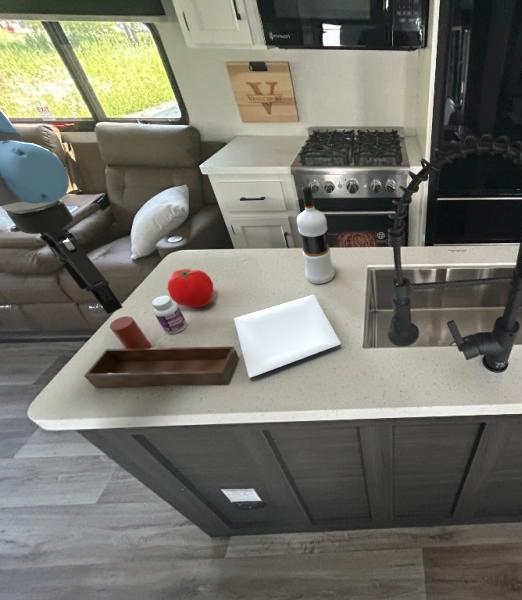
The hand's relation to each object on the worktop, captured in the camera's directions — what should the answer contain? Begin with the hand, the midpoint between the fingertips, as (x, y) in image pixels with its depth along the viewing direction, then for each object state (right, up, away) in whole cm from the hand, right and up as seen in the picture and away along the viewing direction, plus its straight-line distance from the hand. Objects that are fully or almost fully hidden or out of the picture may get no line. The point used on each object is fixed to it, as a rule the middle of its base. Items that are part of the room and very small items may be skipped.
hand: (101, 297), depth 71 cm
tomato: (+5, -1, +26) cm, 26 cm away
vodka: (+39, +7, +37) cm, 54 cm away
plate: (+35, -10, +16) cm, 40 cm away
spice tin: (0, -13, +11) cm, 17 cm away
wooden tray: (+11, -18, +6) cm, 22 cm away
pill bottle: (+5, -8, +17) cm, 20 cm away
